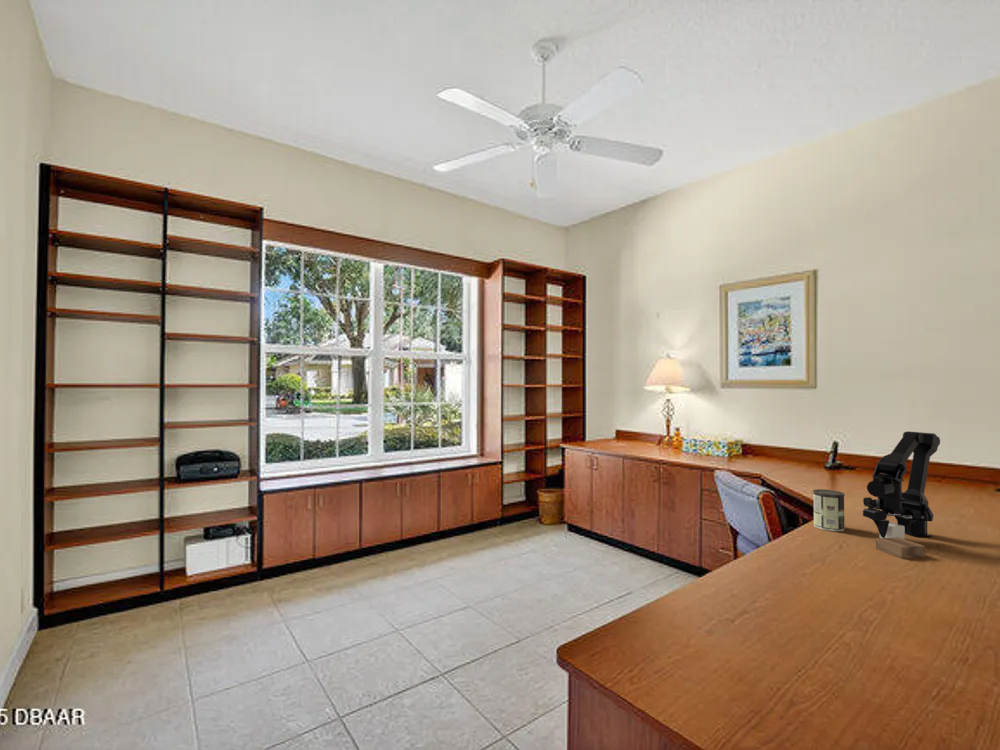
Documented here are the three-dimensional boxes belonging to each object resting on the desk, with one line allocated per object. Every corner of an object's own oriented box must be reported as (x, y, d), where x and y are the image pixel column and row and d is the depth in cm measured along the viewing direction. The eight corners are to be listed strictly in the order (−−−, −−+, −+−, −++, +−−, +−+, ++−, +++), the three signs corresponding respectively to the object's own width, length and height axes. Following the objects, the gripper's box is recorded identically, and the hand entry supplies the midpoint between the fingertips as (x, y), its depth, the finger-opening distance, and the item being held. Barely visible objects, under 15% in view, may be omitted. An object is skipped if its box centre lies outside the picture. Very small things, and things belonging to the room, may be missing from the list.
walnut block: (898, 548, 164) (898, 537, 164) (925, 558, 156) (925, 546, 156) (875, 550, 163) (875, 538, 163) (901, 559, 154) (901, 547, 154)
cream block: (891, 538, 175) (891, 522, 175) (904, 542, 170) (904, 526, 170) (879, 538, 174) (879, 522, 174) (892, 543, 169) (892, 526, 169)
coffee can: (833, 523, 192) (832, 489, 193) (851, 531, 182) (851, 495, 182) (807, 523, 193) (807, 488, 193) (824, 531, 182) (824, 494, 183)
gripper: (892, 488, 182) (892, 529, 181) (849, 489, 179) (849, 531, 179) (922, 495, 171) (922, 538, 170) (876, 496, 168) (877, 541, 168)
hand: (891, 537), depth 172 cm, fingers open, 7 cm apart
